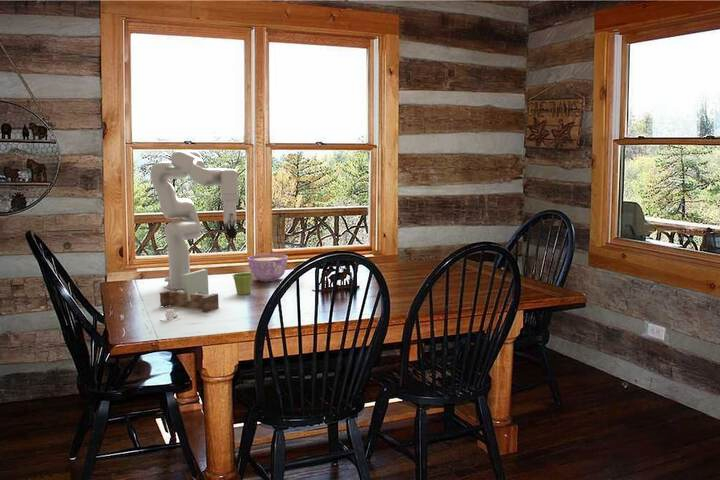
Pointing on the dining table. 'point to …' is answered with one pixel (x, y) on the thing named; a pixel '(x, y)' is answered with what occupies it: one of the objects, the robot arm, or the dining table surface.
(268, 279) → the bowl of food
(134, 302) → the dining table surface
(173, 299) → the walnut slot rail
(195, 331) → the dining table surface
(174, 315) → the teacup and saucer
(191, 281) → the sage slot plate
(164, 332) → the dining table surface
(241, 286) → the plant pot
